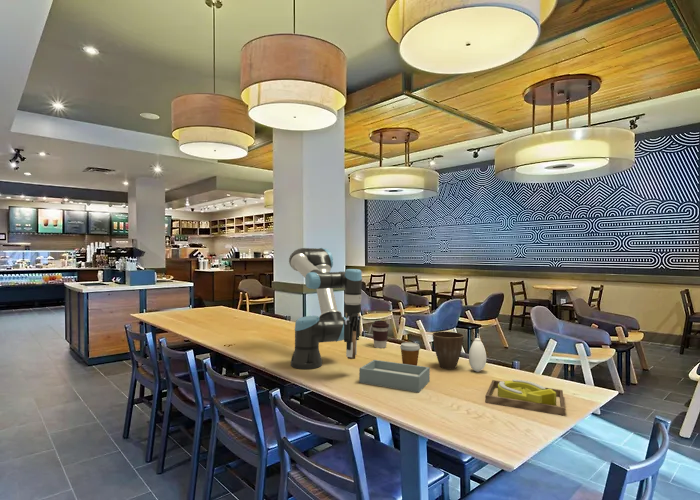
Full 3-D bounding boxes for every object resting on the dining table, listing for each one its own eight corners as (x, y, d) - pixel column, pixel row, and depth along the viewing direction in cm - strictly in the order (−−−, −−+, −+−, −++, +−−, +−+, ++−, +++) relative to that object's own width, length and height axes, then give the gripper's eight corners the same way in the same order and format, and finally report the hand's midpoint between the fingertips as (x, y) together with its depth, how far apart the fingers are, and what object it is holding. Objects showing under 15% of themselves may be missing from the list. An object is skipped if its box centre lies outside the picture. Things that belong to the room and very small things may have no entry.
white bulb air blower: (465, 371, 190) (466, 332, 190) (473, 367, 196) (473, 330, 196) (481, 374, 185) (482, 335, 185) (488, 371, 190) (489, 333, 191)
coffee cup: (389, 349, 233) (389, 323, 233) (372, 348, 233) (372, 322, 233) (387, 345, 243) (388, 320, 243) (371, 344, 243) (371, 320, 243)
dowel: (346, 358, 180) (346, 331, 180) (349, 356, 184) (350, 330, 183) (353, 359, 179) (353, 332, 179) (356, 357, 182) (357, 331, 182)
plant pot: (447, 373, 186) (448, 338, 186) (425, 365, 199) (426, 333, 199) (470, 368, 194) (470, 335, 194) (447, 361, 207) (447, 330, 207)
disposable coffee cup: (419, 373, 186) (419, 347, 186) (398, 371, 188) (399, 346, 188) (420, 367, 195) (420, 342, 195) (400, 366, 197) (400, 341, 197)
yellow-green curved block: (531, 411, 141) (531, 397, 141) (488, 392, 160) (488, 380, 160) (564, 405, 148) (564, 391, 148) (519, 387, 167) (519, 375, 167)
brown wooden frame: (485, 402, 150) (485, 395, 150) (492, 386, 169) (492, 380, 169) (564, 415, 138) (564, 408, 139) (562, 396, 157) (562, 390, 157)
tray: (359, 382, 171) (359, 368, 171) (373, 372, 185) (374, 359, 186) (418, 392, 160) (419, 377, 160) (429, 381, 174) (429, 367, 174)
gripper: (352, 306, 172) (350, 361, 172) (367, 302, 187) (366, 352, 187) (336, 305, 175) (335, 358, 175) (353, 300, 190) (351, 350, 190)
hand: (351, 355), depth 181 cm, fingers closed on dowel, 3 cm apart
